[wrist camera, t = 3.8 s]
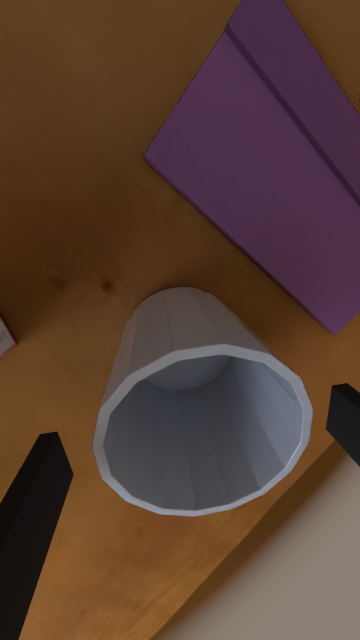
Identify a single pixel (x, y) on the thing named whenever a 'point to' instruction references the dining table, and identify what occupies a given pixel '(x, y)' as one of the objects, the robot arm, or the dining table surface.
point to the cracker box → (5, 340)
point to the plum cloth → (273, 158)
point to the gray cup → (197, 409)
